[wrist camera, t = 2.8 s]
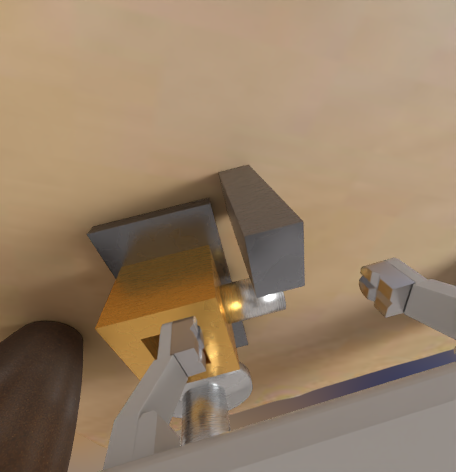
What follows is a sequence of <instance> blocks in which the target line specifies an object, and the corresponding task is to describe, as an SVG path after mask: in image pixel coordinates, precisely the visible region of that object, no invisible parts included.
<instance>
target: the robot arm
mask: <svg viewBox="0 0 456 472" xmlns="http://www.w3.org/2000/svg"><path fill="white" fill-rule="evenodd" d="M360 273H361V274H362V275H363V276H362V277H361V278H360V280H359V287H360V290H361V292H362V293H363V295H364V296H365V297H366V298H367V299H369V300H371V301H374V306H375V307H376V308H377V309H378V311H379V312H380V313H381V314H382V315H383V316H384V317H385V318H386V317H390V316H394V315H397V314H401V313H404V314H405V315H407V316H409V317H411V318H413V319H415V320H417V321H419V322H421V323H423V324H425V325H427V326H429V327H431V328H433V329H435V330H437V331H439V332H441V333H443V334H445V335H447V336H449V337H451V338H453V339H455V340H456V286H454V285H451V284H447V283H444V282H440V281H437V280H434V279H429V280H428V279H426V278H425V277H423V276H422V275H421V274H419V273H418V272H416V271H415V270H413V269H412V268H411V267H409V266H408V265H406V264H405V263H403V262H402V261H401V260H399V259H397V258H390V259H387V260H384V261H380V262H376V263H373V264H370V265H366V266H363V267H362V268H361V272H360ZM204 347H205V346H204V338H203V333H202V330H201V328H200V326H198V325H197V319H196V317H195V316H191V317H187V318H184V319H180V320H176V321H173V322H169V323H165V324H162V326H161V330H160V338H159V347H158V355H157V360H154V361H153V362H152V364H151V365H150V367H149V368H148V370H147V372H146V373H145V375H144V376H143V378H142V379H141V381H140V382H139V384H138V385H137V387H136V388H135V390H134V391H133V393H132V394H131V396H130V398H129V399H128V401H127V402H126V404H125V405H124V407H123V408H122V410H121V411H120V413H119V414H118V416H117V417H116V419H115V420H114V424H113V428H112V433H111V437H110V441H109V446H108V450H107V454H106V459H105V463H104V467H103V470H102V471H98V472H456V362H453V363H450V364H446V365H443V366H440V367H437V368H433V369H430V370H427V371H423V372H420V373H417V374H414V375H411V376H407V377H404V378H401V379H397V380H394V381H391V382H388V383H385V384H381V385H378V386H375V387H372V388H368V389H365V390H362V391H358V392H355V393H352V394H349V395H345V396H342V397H339V398H336V399H332V400H329V401H326V402H323V403H319V404H316V405H313V406H309V407H306V408H303V409H300V410H297V411H294V412H290V413H287V414H283V415H280V416H277V417H274V418H270V419H268V420H264V421H261V422H258V423H254V424H251V425H248V426H245V427H242V428H238V429H235V430H232V431H228V432H225V433H222V434H219V435H215V436H212V437H209V438H206V439H202V440H199V441H196V442H193V443H189V444H186V445H183V446H180V437H179V435H178V434H177V433H176V432H175V431H174V430H173V429H172V428H171V427H170V426H169V423H170V421H171V418H172V416H173V414H174V411H175V409H176V406H177V404H178V402H179V399H180V397H181V394H182V392H183V390H184V387H185V385H186V382H187V380H188V377H190V376H193V375H196V374H199V373H202V372H205V371H206V359H205V354H204V352H203V349H204ZM454 353H455V354H456V347H455V348H454Z"/></svg>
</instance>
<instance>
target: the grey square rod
mask: <svg viewBox="0 0 456 472" xmlns="http://www.w3.org/2000/svg"><path fill="white" fill-rule="evenodd" d="M218 173H219V177H220V181H221V186H222V190H223V194H224V199H225V203H226V208H227V212H228V215H229V218H230V221H231V224H232V227H233V230H234V233H235V236H236V239H237V242H238V245H239V248H240V251H241V254H242V257H243V260H244V263H245V266H246V269H247V272H248V275H249V278H250V281H251V283H252V286H253V289H254V292H255V295H256V298H259V297H263V296H267V295H271V294H274V293H278V292H282V291H286V290H290V289H294V288H298V287H302V286H305V280H304V230H303V221H302V220H301V219H300V218H299V217H298V215H297V214H296V213H295V212H294V211H293V210H292V209H291V208H290V207H289V206H288V205H287V204H286V203H285V202H284V201H283V200H282V199H281V198H280V197H279V196H278V195H277V194H276V193H275V192H274V190H273V189H272V188H271V187H270V186H269V185H268V184H267V183H266V182H265V181H264V180H263V179H262V178H261V177H260V176H259V175H258V174H257V173H256V172H255V171H254V170H253V169H252V168H251V167H250V166H249V165H246V166H242V167H238V168H234V169H230V170H226V171H222V172H218Z"/></svg>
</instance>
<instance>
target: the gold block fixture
mask: <svg viewBox="0 0 456 472" xmlns="http://www.w3.org/2000/svg"><path fill="white" fill-rule="evenodd" d="M87 236H88V237H89V239H90V240H91V242H92V243H93V245H94V246H95V248H96V249H97V251H98V252H99V254H100V255H101V257H102V258H103V260H104V262H105V263H106V265H107V266H108V268H109V269H110V271H111V272H112V274H113V275H114V277H115V278H116V281H115V283H114V286H113V288H112V290H111V292H110V295H109V297H108V299H107V302H106V304H105V306H104V309H103V311H102V313H101V316H100V318H99V320H98V323H97V325H96V327H95V330H96V331H97V332H98V333H99V334H100V335H101V336H102V338H103V339H104V340H105V341H106V342H107V343H108V344H109V346H110V347H111V348H112V349H113V350H114V351H115V352H116V354H117V355H118V356H119V357H120V358H121V359H122V360H123V362H124V363H125V364H126V365H127V366H128V367H129V368H130V370H131V371H132V372H133V373H134V374H135V375H136V376H137V378H138V379H139V380H140V381H141V379H142V378H143V376H144V375H145V373H146V372H147V370H148V368H149V367H150V365H151V364H152V362H153V361H154V360H157V355H158V347H159V338H160V330H161V326H162V324H165V323H169V322H173V321H176V320H180V319H184V318H187V317H191V316H195V317H196V319H197V325H198V326H200V328H201V330H202V333H203V338H204V346H205V347H204V349H203V352H204V354H205V359H206V371H205V372H202V373H199V374H196V375H193V376H190V377H188V380H187V382H186V385H185V387H184V390H183V392H182V394H181V397H180V399H179V402H178V404H177V406H176V409H175V411H174V414H173V416H172V417H177V418H182V435H181V446H183V445H186V444H189V443H193V442H196V441H199V440H202V439H206V438H209V437H212V436H215V435H219V434H222V433H225V432H228V431H230V424H229V415H228V411H229V410H231V409H233V408H235V407H237V406H238V405H240V404H241V403H242V402H244V401H245V400H246V399H247V398H248V397H249V395H250V394H251V391H252V387H253V386H252V381H251V376H250V372H249V370H248V368H247V367H246V366H245V365H244V364H243V363H241V362H240V361H239V360H238V354H237V349H236V348H237V347H241V346H245V345H248V341H247V337H246V333H245V330H244V326H243V322H242V321H243V320H247V319H251V318H254V317H258V316H262V315H266V314H270V313H274V312H277V311H281V310H285V309H286V302H285V297H284V293H283V291H282V292H278V293H274V294H271V295H267V296H263V297H259V298H256V295H255V292H254V289H253V286H252V283H251V281H250V278H247V279H243V280H239V281H236V282H232V281H231V278H230V274H229V270H228V266H227V263H226V259H225V255H224V252H223V248H222V244H221V240H220V237H219V233H218V229H217V225H216V222H215V218H214V214H213V211H212V207H211V203H210V199H209V198H206V199H202V200H198V201H194V202H190V203H186V204H182V205H178V206H174V207H170V208H166V209H162V210H158V211H154V212H150V213H146V214H142V215H138V216H134V217H130V218H126V219H122V220H118V221H114V222H110V223H106V224H102V225H98V226H94V227H92V228H91V230H90V231H89V232H88V233H87Z"/></svg>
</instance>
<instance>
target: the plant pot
mask: <svg viewBox="0 0 456 472" xmlns="http://www.w3.org/2000/svg"><path fill="white" fill-rule="evenodd" d="M82 368H83V339H82V337H81V335H80V333H79V332H78V331H76V330H75V329H73V328H72V327H70V326H68V325H65V324H62V323H57V322H48V321H42V322H34V323H31V324H28V325H25V326H24V327H22V328H21V329H19V330H18V331H16V332H15V333H13V334H12V335H10V336H9V337H8V338H6V339H5V340H3V341H2V342H1V343H0V472H67V470H68V466H69V460H70V456H71V451H72V446H73V441H74V435H75V429H76V423H77V416H78V409H79V402H80V393H81V382H82Z"/></svg>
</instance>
